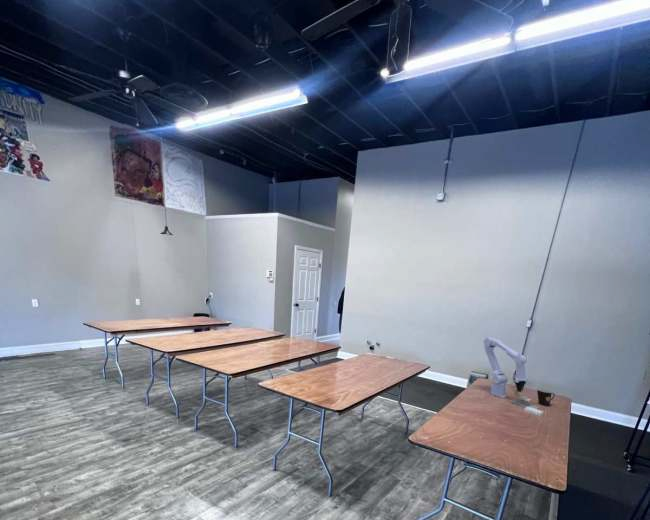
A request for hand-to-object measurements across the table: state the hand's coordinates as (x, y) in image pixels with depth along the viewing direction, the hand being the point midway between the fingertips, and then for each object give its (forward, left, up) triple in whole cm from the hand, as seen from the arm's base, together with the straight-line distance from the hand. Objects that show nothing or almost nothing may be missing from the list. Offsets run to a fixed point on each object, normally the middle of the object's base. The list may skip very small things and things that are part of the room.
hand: (520, 391), depth 217 cm
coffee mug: (+12, +16, -9) cm, 22 cm away
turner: (+1, 0, -4) cm, 5 cm away
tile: (+7, -10, -8) cm, 15 cm away
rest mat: (+3, 0, -9) cm, 9 cm away
